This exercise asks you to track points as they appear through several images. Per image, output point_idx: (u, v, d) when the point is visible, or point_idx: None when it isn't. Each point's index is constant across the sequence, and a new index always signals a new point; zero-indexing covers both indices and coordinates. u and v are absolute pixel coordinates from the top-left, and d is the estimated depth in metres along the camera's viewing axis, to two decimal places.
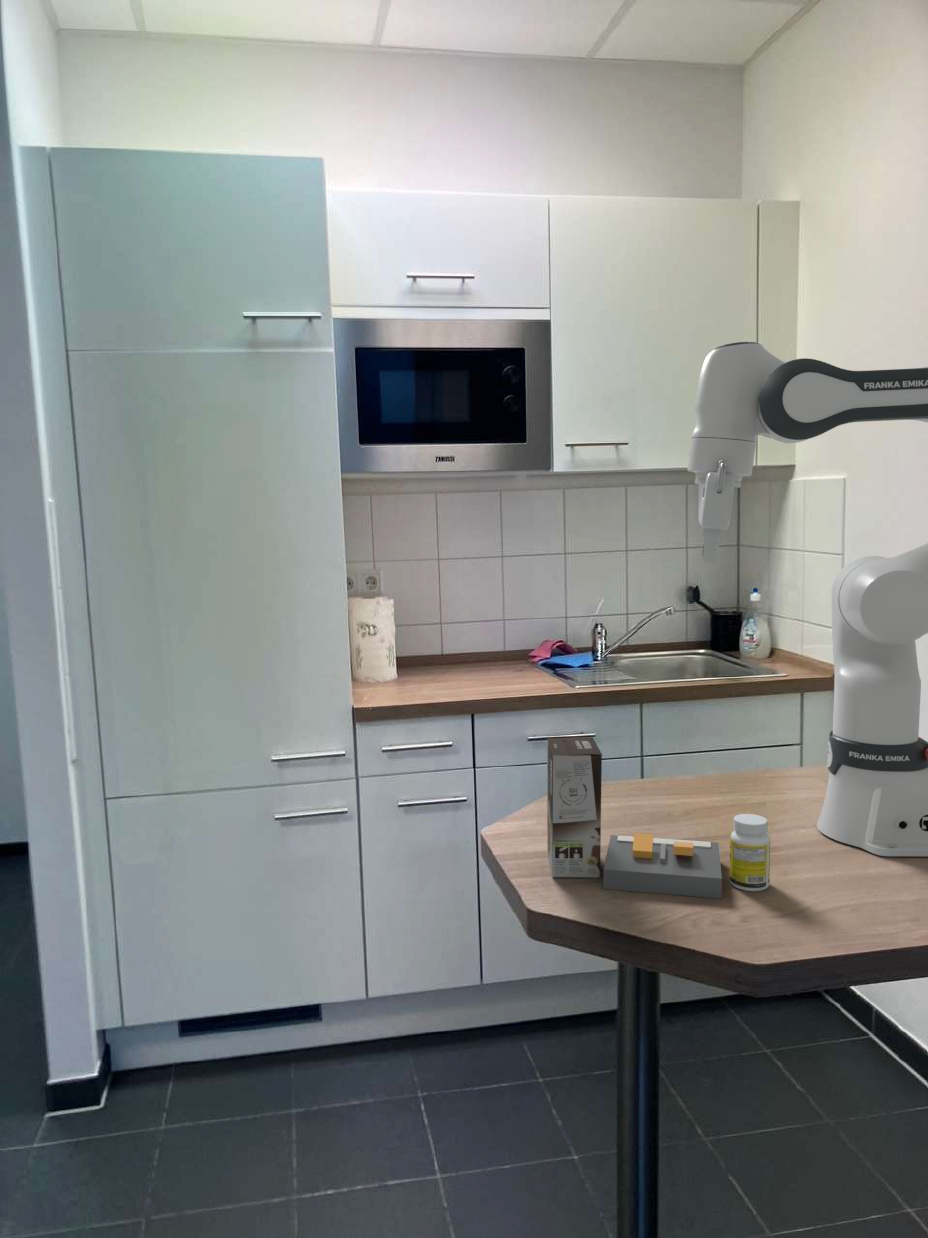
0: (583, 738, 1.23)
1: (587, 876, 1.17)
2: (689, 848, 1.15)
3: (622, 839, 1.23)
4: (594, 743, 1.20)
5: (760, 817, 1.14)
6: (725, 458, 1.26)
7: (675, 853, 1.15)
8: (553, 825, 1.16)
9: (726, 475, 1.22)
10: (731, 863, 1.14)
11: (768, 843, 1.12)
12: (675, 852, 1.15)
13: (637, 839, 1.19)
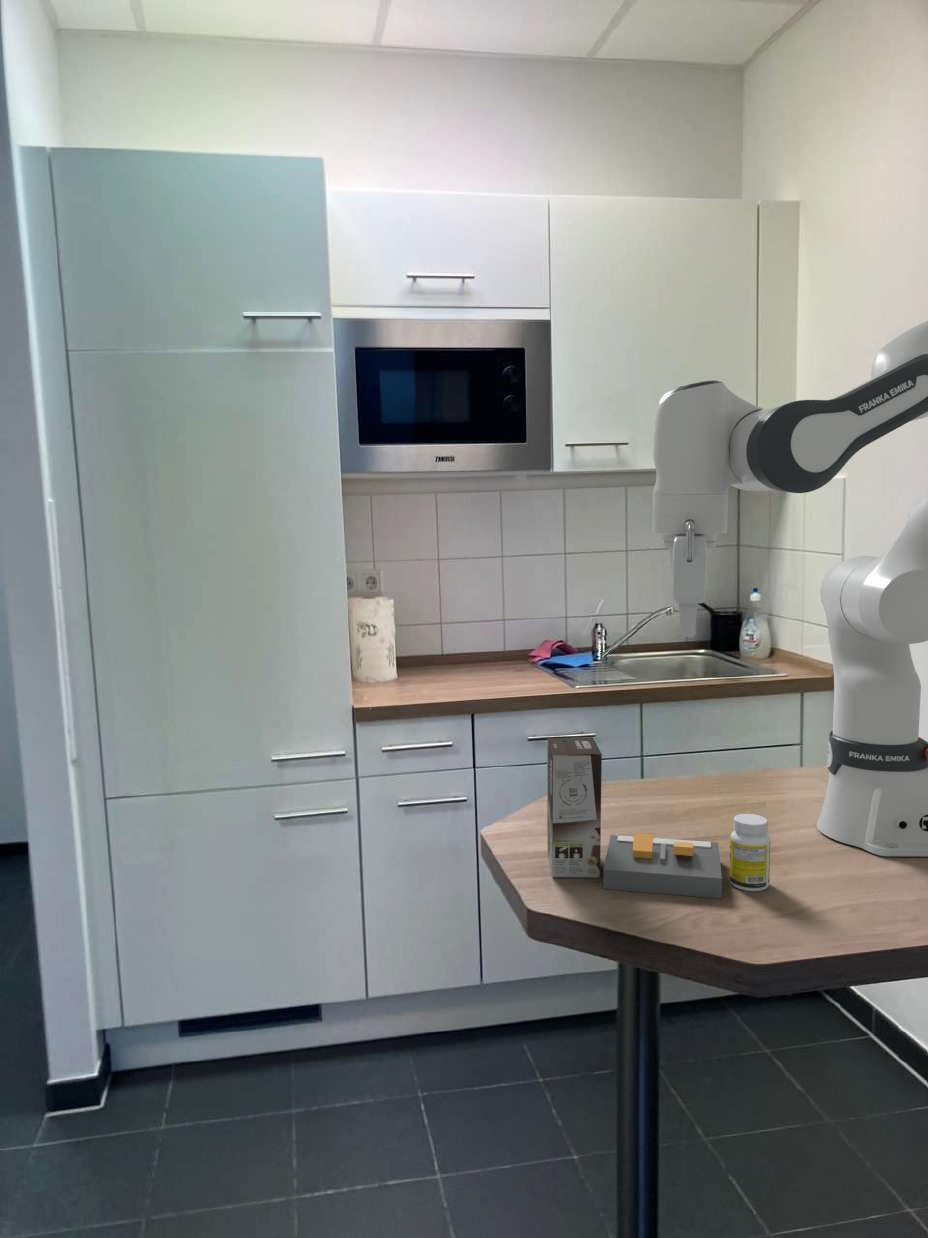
0: (583, 738, 1.23)
1: (587, 876, 1.17)
2: (689, 848, 1.15)
3: (622, 839, 1.23)
4: (594, 743, 1.20)
5: (760, 817, 1.14)
6: (693, 517, 1.07)
7: (675, 853, 1.15)
8: (553, 825, 1.16)
9: (696, 539, 1.04)
10: (731, 863, 1.14)
11: (768, 843, 1.12)
12: (675, 852, 1.15)
13: (637, 839, 1.19)
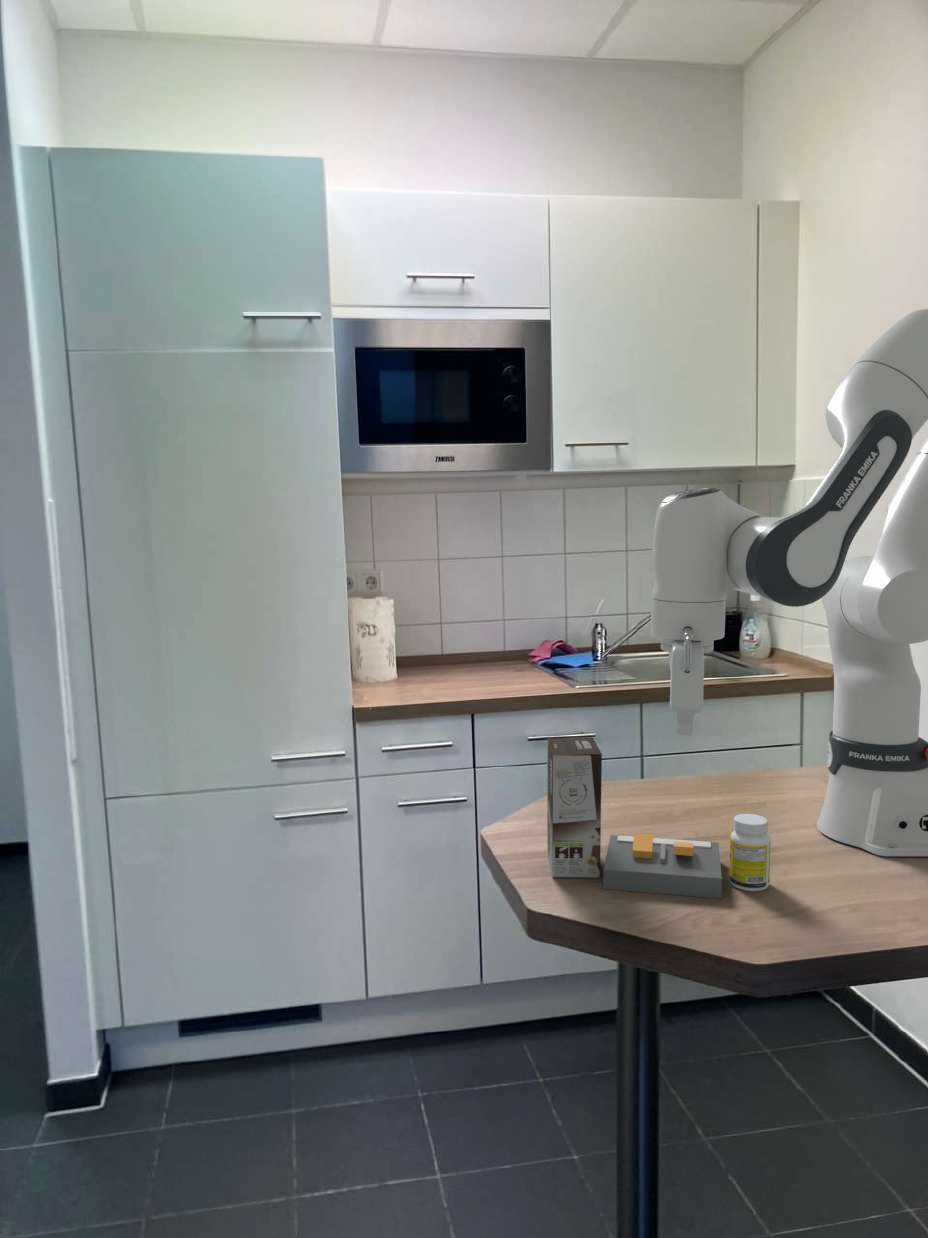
0: (583, 738, 1.23)
1: (587, 876, 1.17)
2: (689, 848, 1.15)
3: (622, 839, 1.23)
4: (594, 743, 1.20)
5: (760, 817, 1.14)
6: (691, 624, 1.09)
7: (675, 853, 1.15)
8: (553, 825, 1.16)
9: (693, 650, 1.05)
10: (731, 863, 1.14)
11: (768, 843, 1.12)
12: (675, 852, 1.15)
13: (637, 839, 1.19)
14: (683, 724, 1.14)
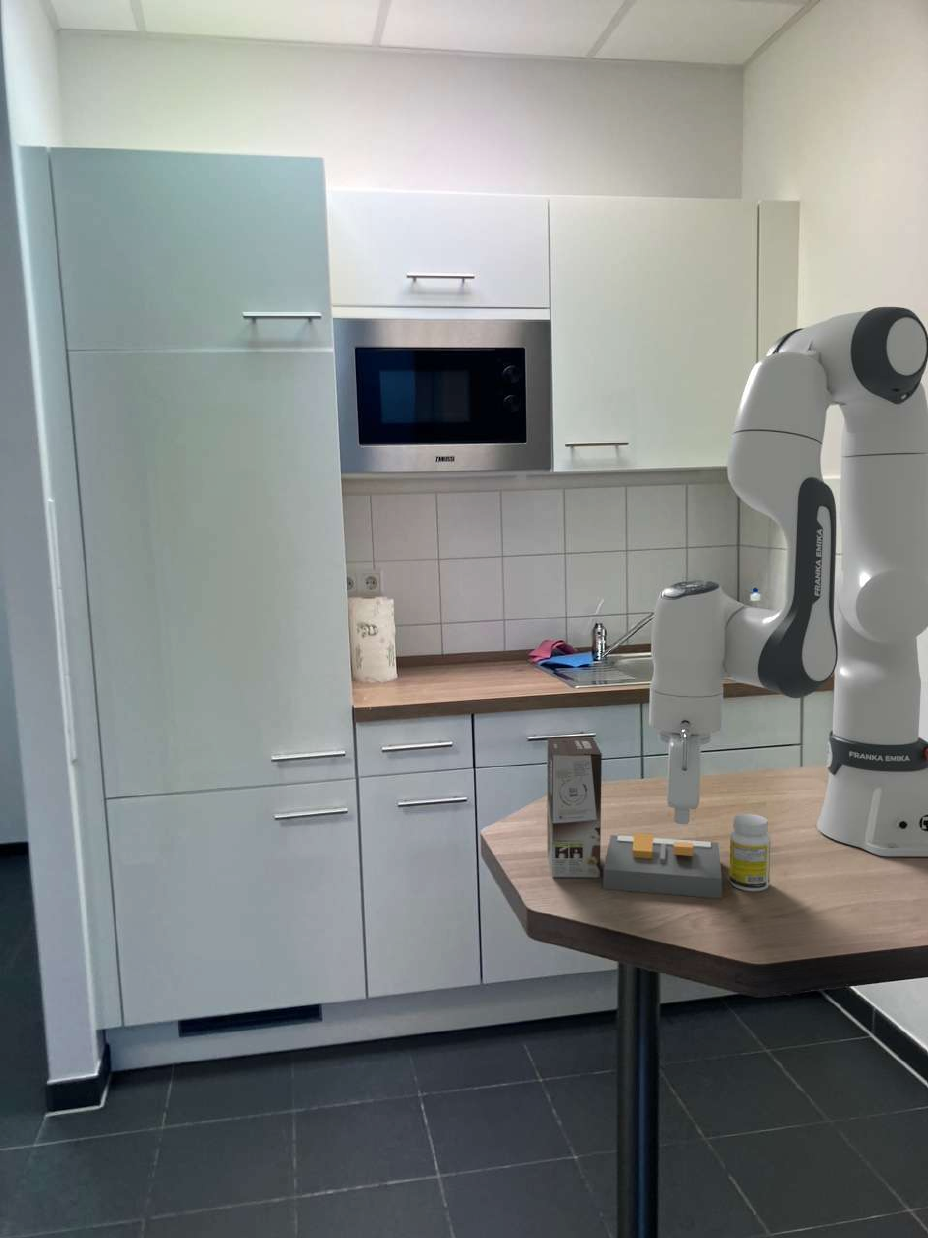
0: (583, 738, 1.23)
1: (587, 876, 1.17)
2: (689, 848, 1.15)
3: (622, 839, 1.23)
4: (594, 743, 1.20)
5: (760, 817, 1.14)
6: (689, 718, 1.10)
7: (675, 853, 1.15)
8: (553, 825, 1.16)
9: (691, 747, 1.06)
10: (731, 863, 1.14)
11: (768, 843, 1.12)
12: (675, 852, 1.15)
13: (637, 839, 1.19)
14: (680, 813, 1.15)
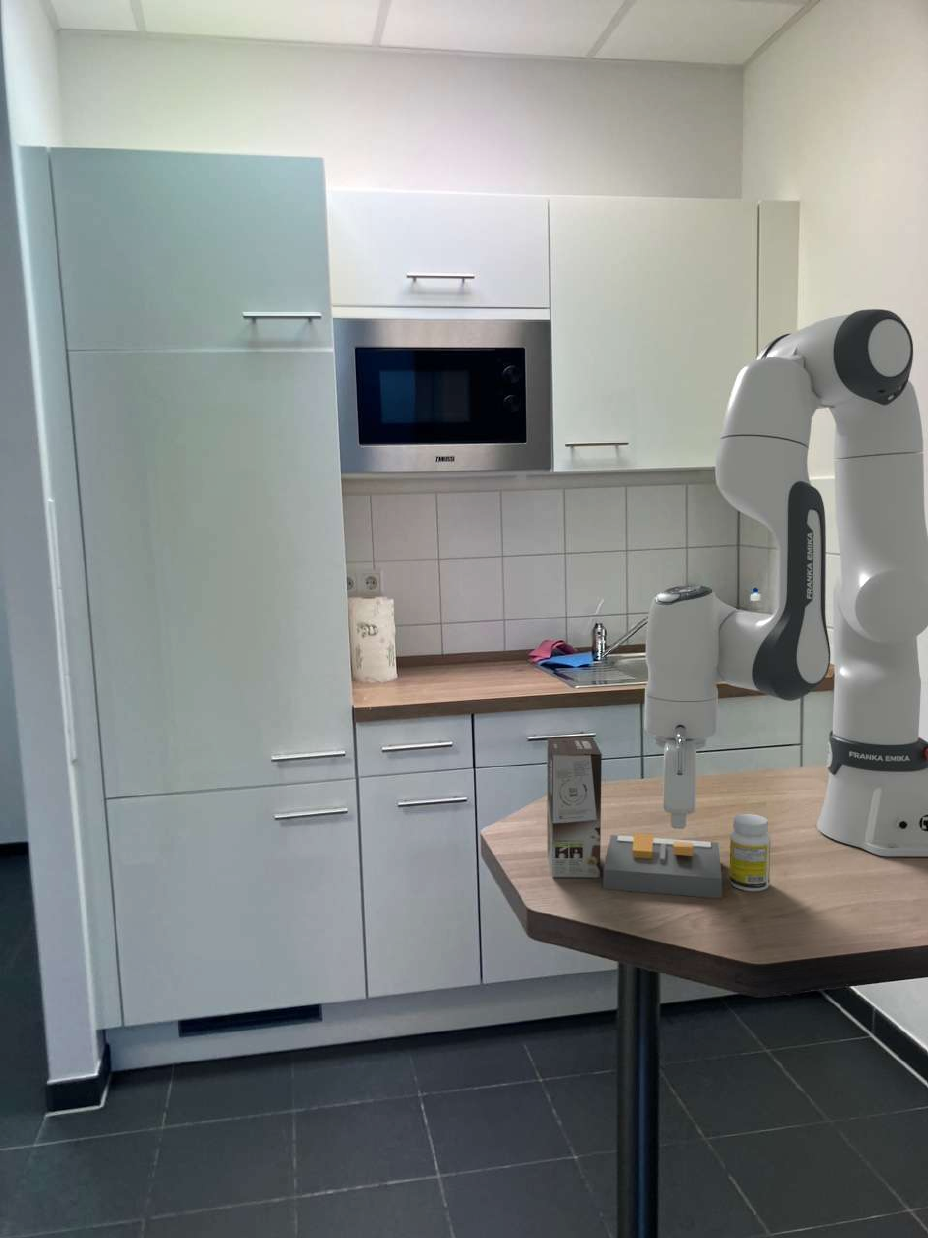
0: (583, 738, 1.23)
1: (587, 876, 1.17)
2: (689, 848, 1.15)
3: (622, 839, 1.23)
4: (594, 743, 1.20)
5: (760, 817, 1.14)
6: (684, 723, 1.11)
7: (675, 853, 1.15)
8: (553, 825, 1.16)
9: (686, 752, 1.07)
10: (731, 863, 1.14)
11: (768, 843, 1.12)
12: (675, 852, 1.15)
13: (637, 839, 1.19)
14: (676, 817, 1.15)
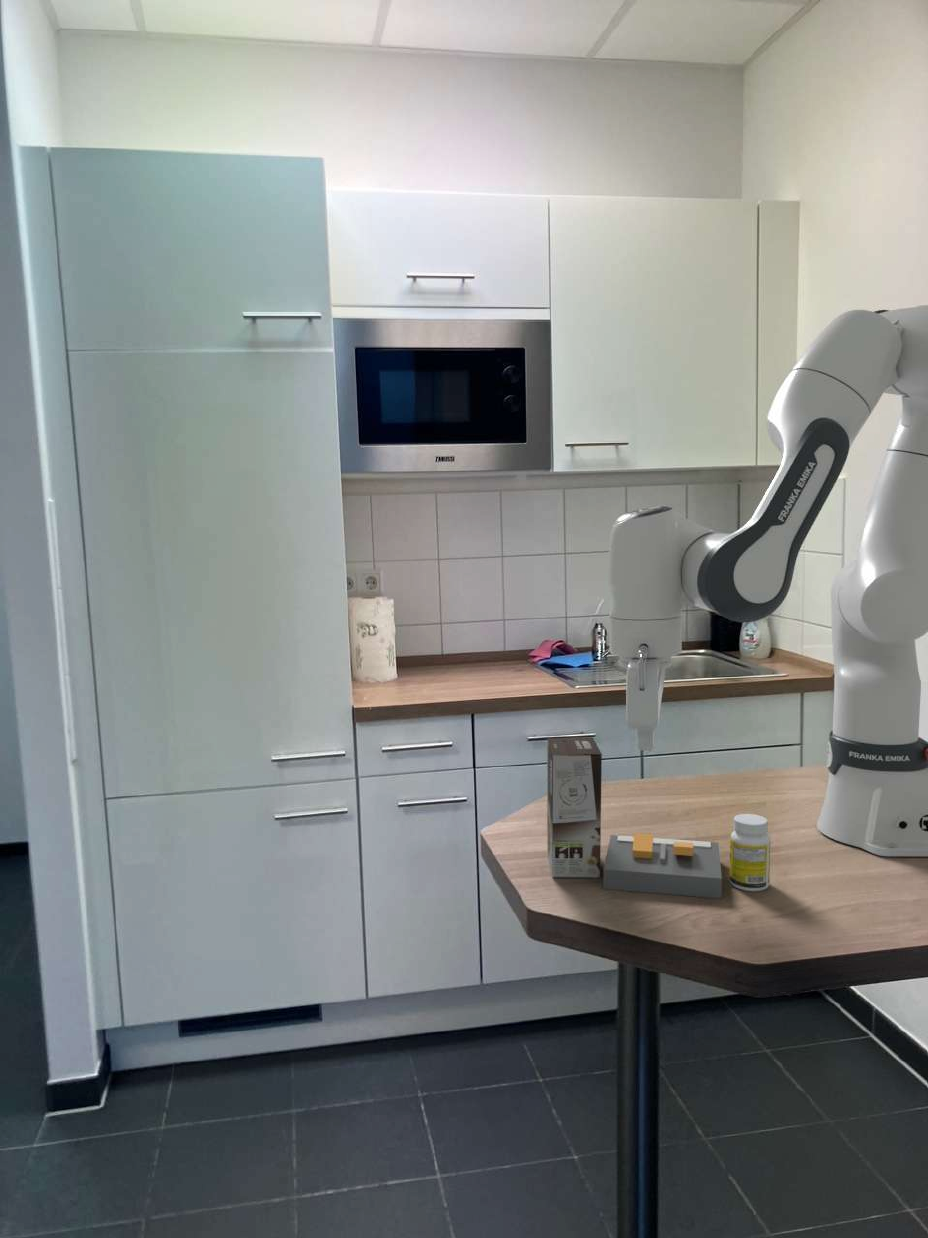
0: (583, 738, 1.23)
1: (587, 876, 1.17)
2: (689, 848, 1.15)
3: (622, 839, 1.23)
4: (594, 743, 1.20)
5: (760, 817, 1.14)
6: (647, 642, 1.11)
7: (675, 853, 1.15)
8: (553, 825, 1.16)
9: (648, 668, 1.07)
10: (731, 863, 1.14)
11: (768, 843, 1.12)
12: (675, 852, 1.15)
13: (637, 839, 1.19)
14: (644, 739, 1.15)
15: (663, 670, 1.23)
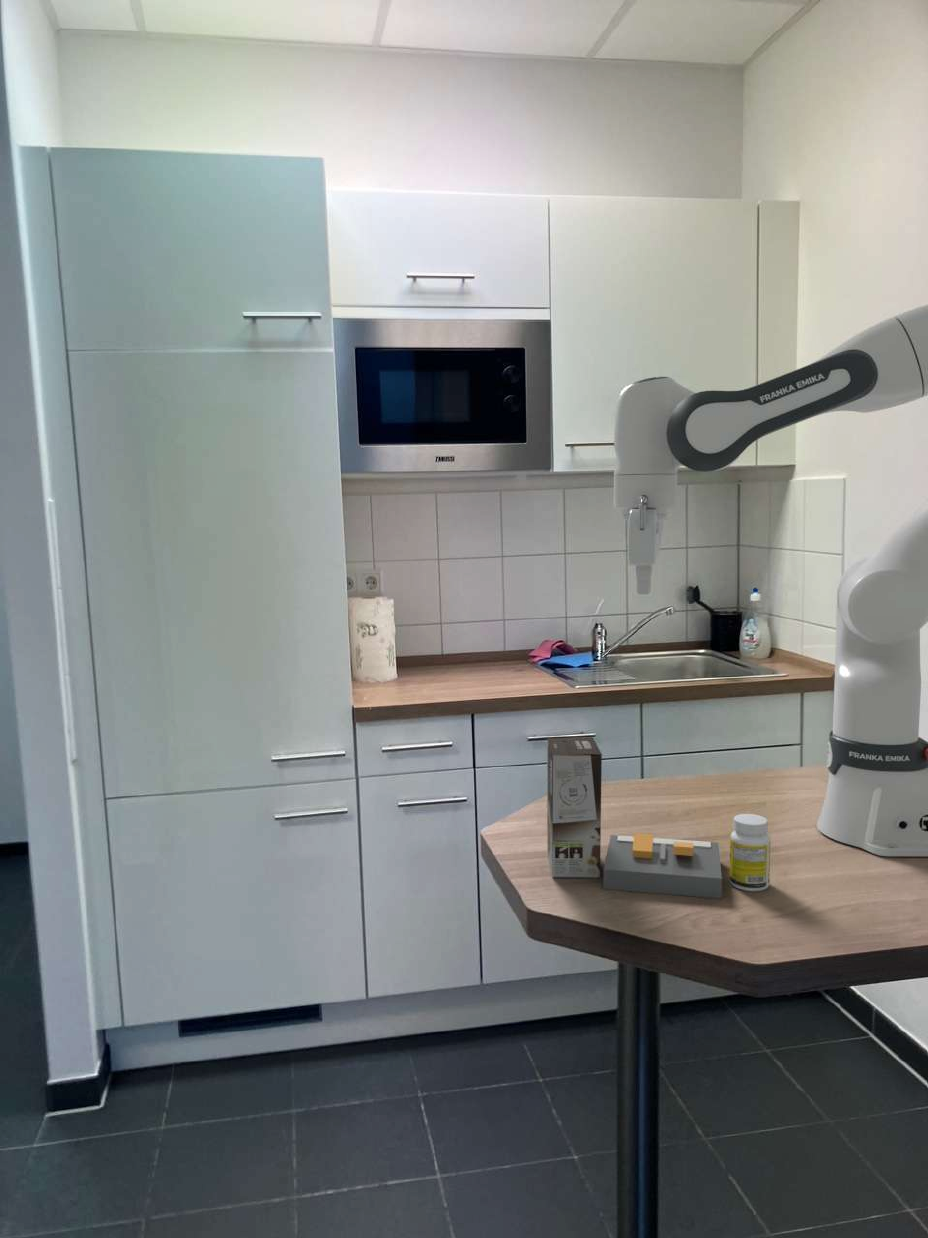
0: (583, 738, 1.23)
1: (587, 876, 1.17)
2: (689, 848, 1.15)
3: (622, 839, 1.23)
4: (594, 743, 1.20)
5: (760, 817, 1.14)
6: (647, 493, 1.27)
7: (675, 853, 1.15)
8: (553, 825, 1.16)
9: (647, 511, 1.23)
10: (731, 863, 1.14)
11: (768, 843, 1.12)
12: (675, 852, 1.15)
13: (637, 839, 1.19)
14: (642, 584, 1.31)
15: (660, 532, 1.39)
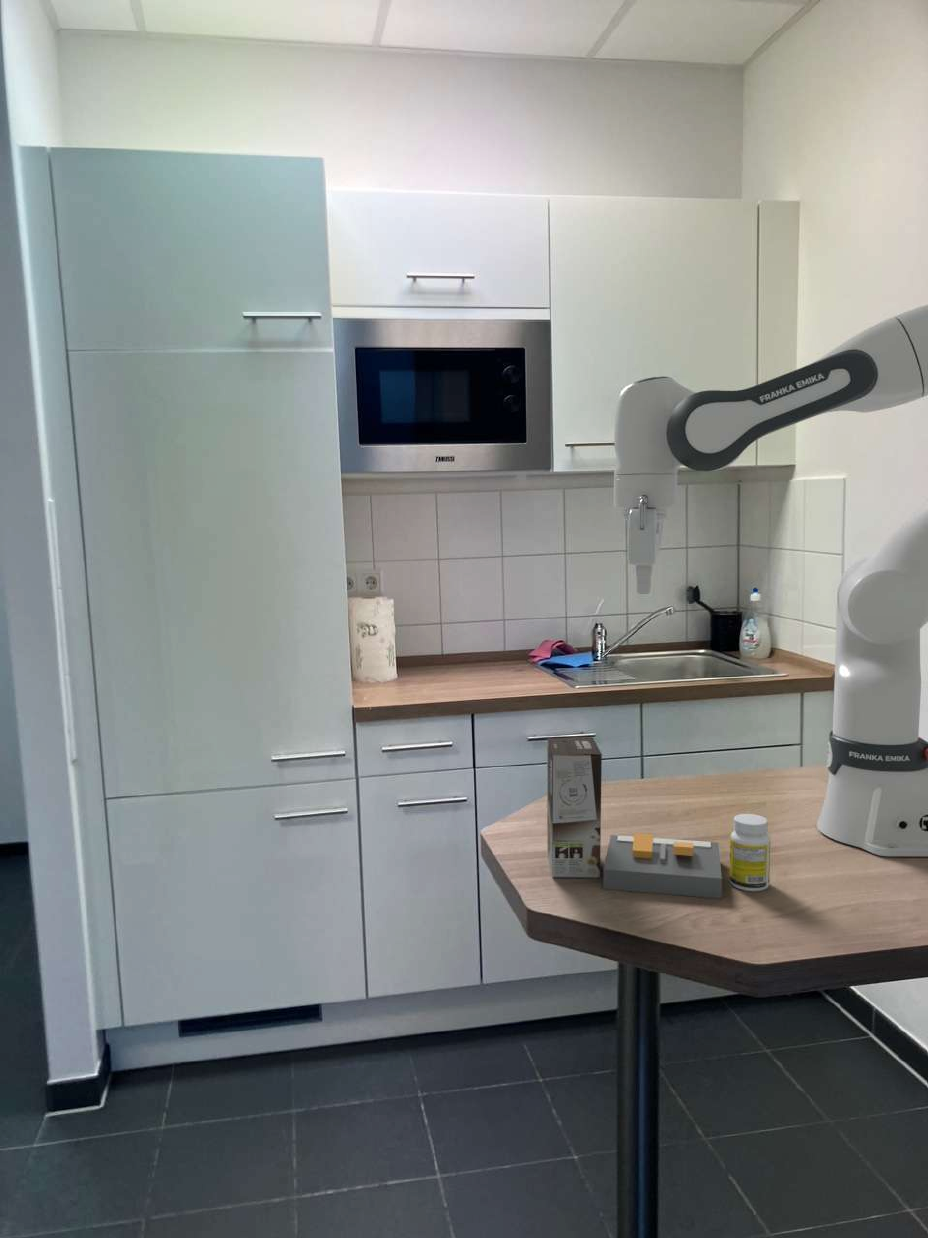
0: (583, 738, 1.23)
1: (587, 876, 1.17)
2: (689, 848, 1.15)
3: (622, 839, 1.23)
4: (594, 743, 1.20)
5: (760, 817, 1.14)
6: (647, 493, 1.27)
7: (675, 853, 1.15)
8: (553, 825, 1.16)
9: (647, 511, 1.23)
10: (731, 863, 1.14)
11: (768, 843, 1.12)
12: (675, 852, 1.15)
13: (637, 839, 1.19)
14: (642, 584, 1.31)
15: (660, 532, 1.39)
